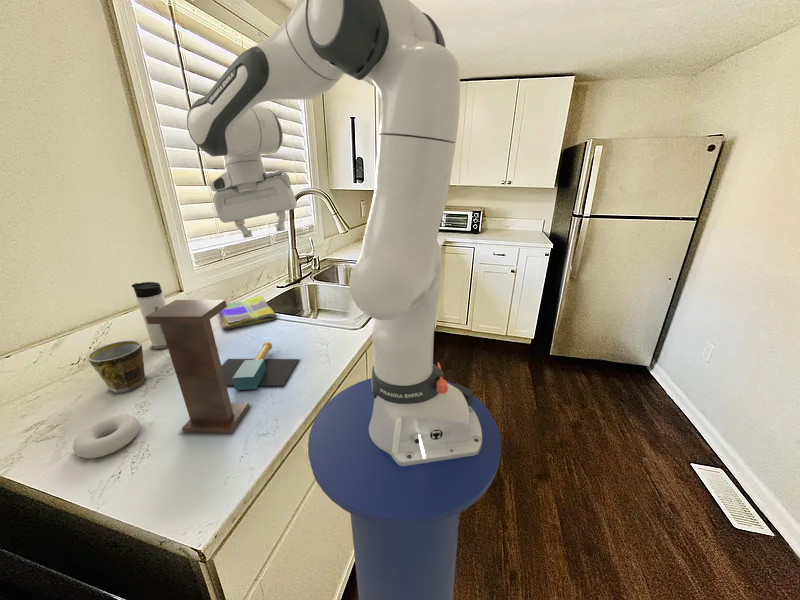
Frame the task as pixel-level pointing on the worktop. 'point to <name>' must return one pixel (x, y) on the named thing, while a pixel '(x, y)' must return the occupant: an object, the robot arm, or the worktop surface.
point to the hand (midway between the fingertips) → (264, 234)
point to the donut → (96, 446)
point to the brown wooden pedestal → (198, 364)
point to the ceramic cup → (120, 365)
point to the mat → (273, 376)
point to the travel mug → (151, 309)
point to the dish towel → (246, 313)
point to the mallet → (251, 370)
